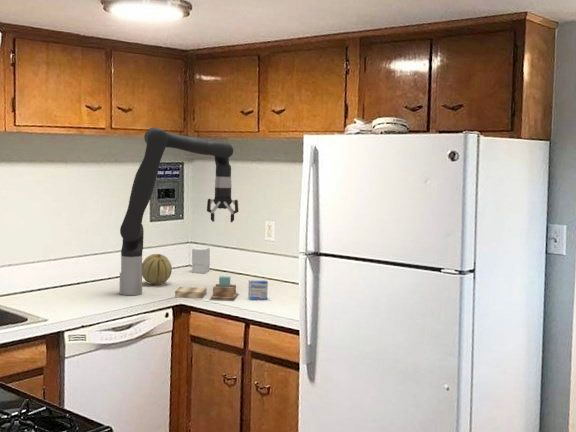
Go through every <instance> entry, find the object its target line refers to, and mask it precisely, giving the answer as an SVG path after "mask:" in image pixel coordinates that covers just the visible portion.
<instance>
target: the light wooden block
mask: <svg viewBox="0 0 576 432" xmlns="http://www.w3.org/2000/svg"><path fill="white" fill-rule="evenodd" d="M207 290H208V288H207V287H191V286H189V287H188V286H179V288H177V289H176V290H175V291H174V294H175V295H174V298H175V299H177V298H179V299H180V298H183V299H203V298H205V296H206V295H207V293H208V292H207Z"/></svg>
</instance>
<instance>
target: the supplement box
mask: <svg viewBox="0 0 576 432" xmlns="http://www.w3.org/2000/svg"><path fill="white" fill-rule="evenodd" d="M210 252H211V251H210V247H199V246H198V247H195V248H192V249H191V267H192V268H191V270H192V271H191V272H192V274H193V273H194V274H195V273H196V274H206V273H209V272H210V271H211V270H210V269H211V268H210V267H211V266H210V265H211V264H210V263H211V262H210V261H211V259H210V257H211V256H210Z"/></svg>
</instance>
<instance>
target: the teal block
mask: <svg viewBox="0 0 576 432" xmlns="http://www.w3.org/2000/svg"><path fill="white" fill-rule="evenodd" d="M218 280H219V281H218V284H219V287H230V284H231V276H229V275H228V276H227V275H226V276H224V275H220V276H219V279H218Z"/></svg>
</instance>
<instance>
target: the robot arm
mask: <svg viewBox="0 0 576 432" xmlns="http://www.w3.org/2000/svg"><path fill="white" fill-rule="evenodd" d="M143 136H144V137H143V138H144V142H145V144H146V149H145V151H144V156H143V159H142V161H141V163H140V165H139V167H138V169H137V171H136V173H135V175H134V178H133V182H132V186H131V189H130V190H131V191H130V196H129V200H128V205H127V211H126V213H125V216H124V218H123V220H122V223H121V225H120V229H119V233H120V236H121V238H122V246H121V249H120V251H121V252H120V257H121V258H120V265H121V266H120V272H119V295H123V296H138V295H142V294H143V276H142V263H143V251H144V250H143V249H144V236H145V235H144V233H145V232H144V226H143V224H142V223H143V222H142V221H143V217H144V214H145V212H146V209H147V206H148V205H149V203H150V200H151V198H152V195H153V193H154V191H155V190H154V189H155V186H156V182H157V177H158V173H159V170H160V169H159V168H160V164H161V160H162V158H163V155H164V152H165V150H166V148H171V149H177V150H182V151H185V152H189V153H193V154H198V155H204V156H213V157H214V161H215V179H214V198H213V199H212V198H207V204H206V212H207V213H210V220H211V222H215V215H216V214H215V212H216V211H217V210H218V209H220V210H221V209H224V210H226V209H227V210H228V211H229V212H230V223H233V222H234V221H235V214H237V213H238V212H239V200H238V199H232V185H233V184H232V166H231V164H230V159H229V158H231V157H232V156H233V153H234V148H233V146H232V144H230V143H228V142H223V141H215V140H211V139H210V140H209V139H207V138H202V137H201V138H200V137H196V136H195V137H194V136H188V135H187V136H186V135H181V134H176V133H172V132H169V131H166V130H164V129H162V128H160V127H151V128H148V129H147V130H146V131H145V133H144V135H143ZM213 203H214V206H213V208H212V209H211V207H212V204H213ZM231 204H233V205H234V208H232V206H231Z"/></svg>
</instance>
